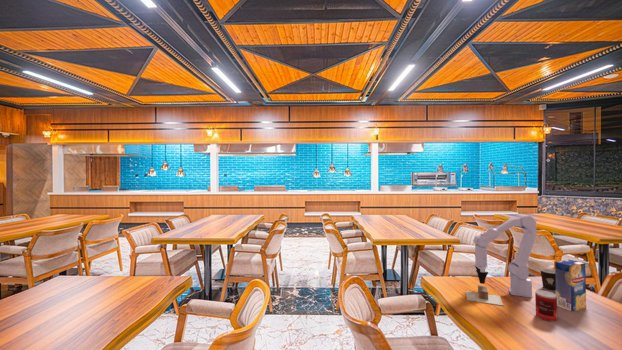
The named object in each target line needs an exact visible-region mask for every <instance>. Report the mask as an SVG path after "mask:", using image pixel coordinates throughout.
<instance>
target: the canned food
mask: <svg viewBox="0 0 622 350" xmlns="http://www.w3.org/2000/svg"><path fill="white" fill-rule="evenodd" d="M534 293H535V294H534V295H535V315H536V317H538V318H540V319H541V320H544V321H548V322H556V321H557V320H558V306H557V296H556V293H554V292H550V291H549V290H541V289H537V290H535V292H534Z"/></svg>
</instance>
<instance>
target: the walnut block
mask: <svg viewBox="0 0 622 350" xmlns="http://www.w3.org/2000/svg"><path fill="white" fill-rule="evenodd" d="M477 293H478V294H479V299H486V300H488V294H489V291H488V288H487V286H486V285H479V284H478V285H477Z"/></svg>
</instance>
